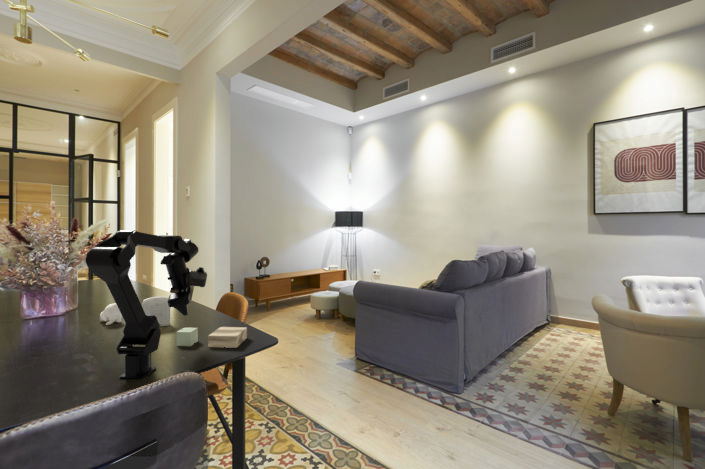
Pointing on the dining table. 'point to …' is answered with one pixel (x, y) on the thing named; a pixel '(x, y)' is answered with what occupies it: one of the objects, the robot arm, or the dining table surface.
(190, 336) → the sage cube
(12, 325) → the dining table surface
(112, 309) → the white animal figurine
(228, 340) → the oak block
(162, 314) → the photo printer
